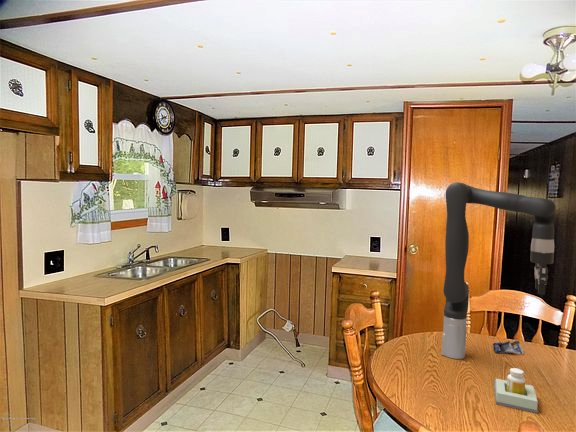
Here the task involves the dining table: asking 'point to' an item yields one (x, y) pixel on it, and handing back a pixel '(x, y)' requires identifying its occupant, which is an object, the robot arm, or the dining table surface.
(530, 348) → the dining table surface
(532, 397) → the socket board
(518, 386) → the supplement bottle
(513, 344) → the snack package
